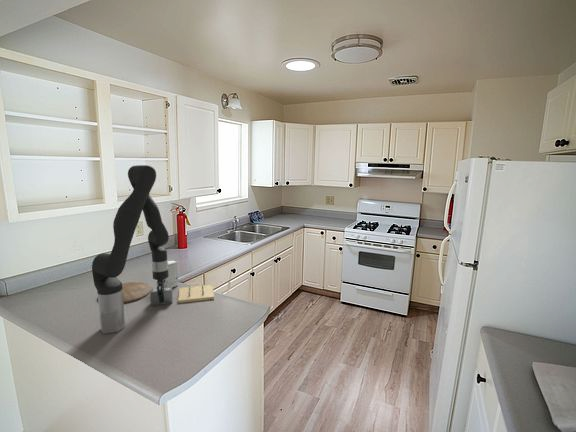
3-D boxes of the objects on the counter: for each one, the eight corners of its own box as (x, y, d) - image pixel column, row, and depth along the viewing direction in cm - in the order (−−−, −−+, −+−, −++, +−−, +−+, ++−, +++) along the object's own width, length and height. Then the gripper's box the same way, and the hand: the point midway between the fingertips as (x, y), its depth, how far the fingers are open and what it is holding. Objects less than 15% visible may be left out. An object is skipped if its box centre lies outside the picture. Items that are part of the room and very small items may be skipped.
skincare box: (166, 290, 170) (165, 265, 167) (159, 288, 173) (158, 263, 170) (178, 285, 177) (177, 261, 175) (171, 283, 180) (170, 259, 177)
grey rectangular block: (172, 303, 155) (171, 290, 154) (151, 305, 152) (150, 292, 151) (172, 299, 159) (172, 287, 158) (152, 302, 156) (151, 289, 155)
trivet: (93, 293, 165) (93, 290, 164) (141, 281, 182) (141, 278, 182) (107, 310, 148) (106, 306, 147) (158, 294, 165) (158, 291, 165)
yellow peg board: (214, 299, 160) (213, 292, 160) (178, 303, 155) (178, 295, 154) (212, 287, 176) (212, 280, 175) (179, 290, 170) (179, 283, 170)
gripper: (167, 273, 147) (168, 305, 150) (169, 263, 160) (170, 293, 163) (150, 274, 145) (152, 307, 148) (154, 264, 158) (155, 295, 161)
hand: (162, 299), depth 155 cm, fingers open, 5 cm apart
